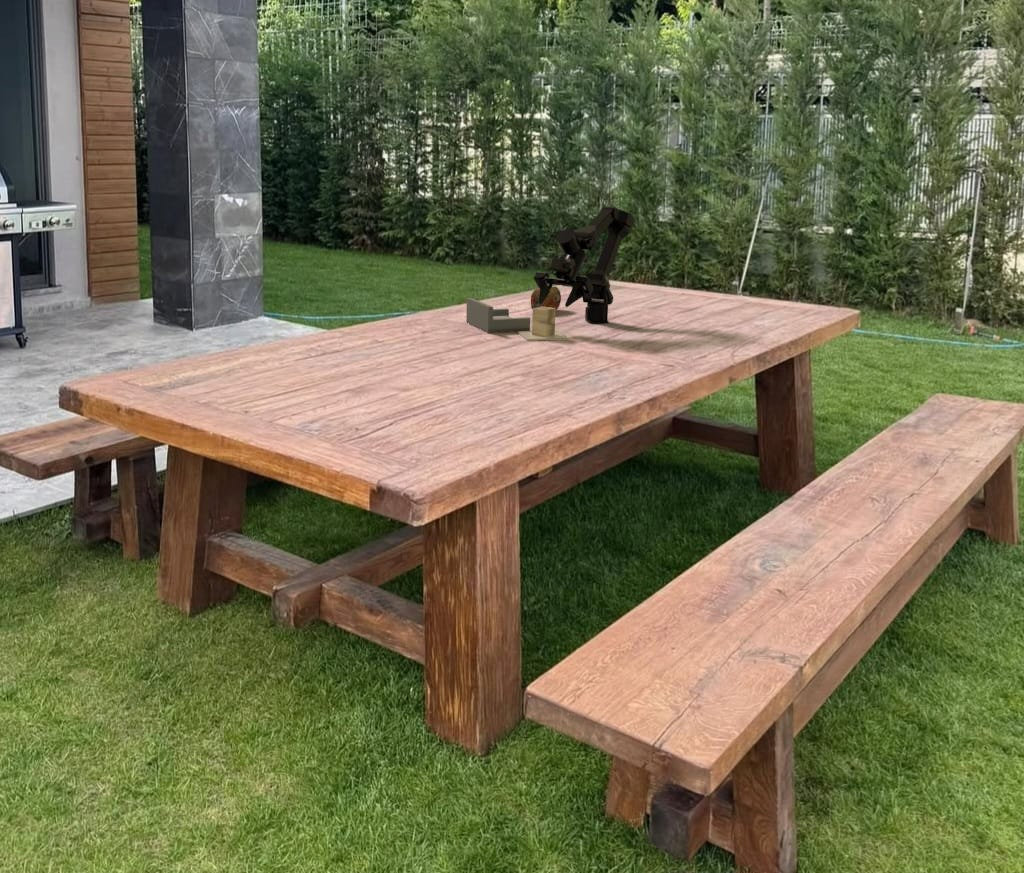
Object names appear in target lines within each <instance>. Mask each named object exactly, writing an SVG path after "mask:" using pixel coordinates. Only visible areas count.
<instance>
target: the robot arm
mask: <svg viewBox="0 0 1024 873" xmlns="http://www.w3.org/2000/svg"><path fill="white" fill-rule="evenodd" d="M634 225H635V217H634V216H633V215H632V213H631V212H627V211H624V210H621V209H620V208H618V207H616V206H602V208H601V209H600V211H599V213H598V214H596V216H595V217H594V218H593V219H592V220H591V221H590V222H589V223H588V224H587V225H585V226H583V227H579V228H577V229H576V230H574V228H573V227H572V226H566V228H565V229H562V230H561V231H560V232H559V231H558V233H556V236H555V240H556V243H557V245H558V246H559V248H560V251H561V252H562V253H563V255H565V258H559V257H551V260H550V264H549V267H548V268H549V269H550V270H552V271H553V272H552V273H553V275H554V276H555V277H551V276H550V274H549V272H544V271H536V272H535V273H534V275H533V280H534V282H535V283H536V285H537V287H538V289H540V295H539V303H540V304H542V303H543V302H544V300H545V299H546V297H547V296H548V294H549V293H550V289H551V288H552V287H553V285H556V286H562V287H569V288H571V291H570V292H569V295H568V296H567V299H566V301H565V303H564V306H565V308H568V307H570V306H571V305H572V304H574V303H575V302H577V301H578V300H580V299H582V302H583V303H586V304H587V305H586V307H585V310H584V311H585V314H584V317H585V318H584V319H585V321H586V322H588V323H589V322H590V323H589V324H600V323H599V322H603V323H602V324H608V322H609V323H610V321H609V320H608V318H609V306H610V305H612V304H613V302H614V296H613V294H612V291H611V289H610V288H611V283H610V280H609V277H610V276H609V275H610V273H611V271H612V268H613V265H614V262H615V260H616V257H617V254H618V251H619V248H620V246H621V242H622V240H624V239H625V238H626V237H627V236H628V235H629V234H630V233H631V231H632V229H633V228H634ZM605 230H607V236H606V238H605V241H604V244H603V247H602V249H601V252H600V255H599V257H598V261H597V263H596V264H595V265H596V266H595V268H594V270H593V271H592V272H587V273H586V275H585V276H583V275H581V272H580V271H581V268H582V266H583V264H584V263H586V264H587V263H588V262H589V260H588V257H587V253H586V252H585V251H593V250H594V249H595V247H596V246H597V244H598V243H599V240H598V238H599V237H600V235H601V234H602V233H603V232H605Z"/></svg>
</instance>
